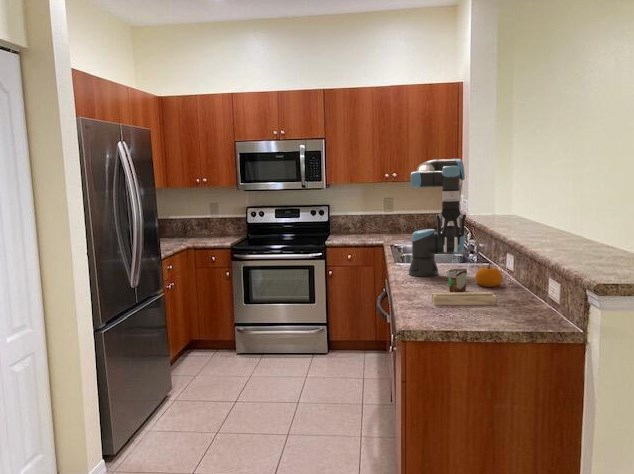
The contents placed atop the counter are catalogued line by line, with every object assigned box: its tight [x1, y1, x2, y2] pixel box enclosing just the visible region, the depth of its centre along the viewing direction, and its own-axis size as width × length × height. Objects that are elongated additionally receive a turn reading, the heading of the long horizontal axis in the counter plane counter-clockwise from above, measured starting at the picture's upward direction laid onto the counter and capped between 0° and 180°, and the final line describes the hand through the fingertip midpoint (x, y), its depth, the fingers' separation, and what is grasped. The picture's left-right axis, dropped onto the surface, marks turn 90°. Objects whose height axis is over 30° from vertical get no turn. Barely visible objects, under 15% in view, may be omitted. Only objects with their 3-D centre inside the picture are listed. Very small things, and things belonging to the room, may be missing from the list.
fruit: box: [475, 264, 503, 288], centre depth 221 cm, size 12×12×10 cm
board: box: [431, 291, 497, 306], centre depth 194 cm, size 6×24×4 cm, turn 85°
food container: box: [446, 268, 468, 293], centre depth 210 cm, size 12×6×10 cm, turn 141°
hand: (450, 251), depth 219 cm, fingers open, 4 cm apart
